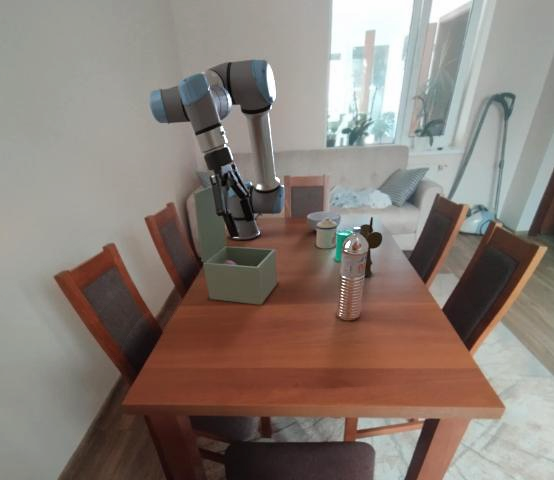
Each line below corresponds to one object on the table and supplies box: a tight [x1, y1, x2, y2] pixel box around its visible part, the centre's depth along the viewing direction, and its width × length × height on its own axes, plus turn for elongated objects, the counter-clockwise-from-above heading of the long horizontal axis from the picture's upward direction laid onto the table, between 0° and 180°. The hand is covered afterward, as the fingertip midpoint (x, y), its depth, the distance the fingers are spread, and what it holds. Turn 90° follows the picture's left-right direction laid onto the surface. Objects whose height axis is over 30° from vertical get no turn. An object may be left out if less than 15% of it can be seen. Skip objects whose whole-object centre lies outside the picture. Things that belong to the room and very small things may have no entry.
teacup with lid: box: [315, 218, 338, 250], centre depth 145 cm, size 12×9×12 cm
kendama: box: [359, 216, 383, 278], centre depth 114 cm, size 6×10×20 cm, turn 10°
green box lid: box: [193, 184, 227, 263], centre depth 103 cm, size 20×17×1 cm
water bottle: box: [336, 226, 369, 322], centre depth 90 cm, size 7×7×25 cm
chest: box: [202, 245, 278, 306], centre depth 111 cm, size 19×17×12 cm
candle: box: [334, 229, 353, 263], centre depth 130 cm, size 6×6×12 cm
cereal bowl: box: [306, 210, 342, 232], centre depth 164 cm, size 17×17×7 cm
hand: (243, 228), depth 102 cm, fingers open, 13 cm apart
